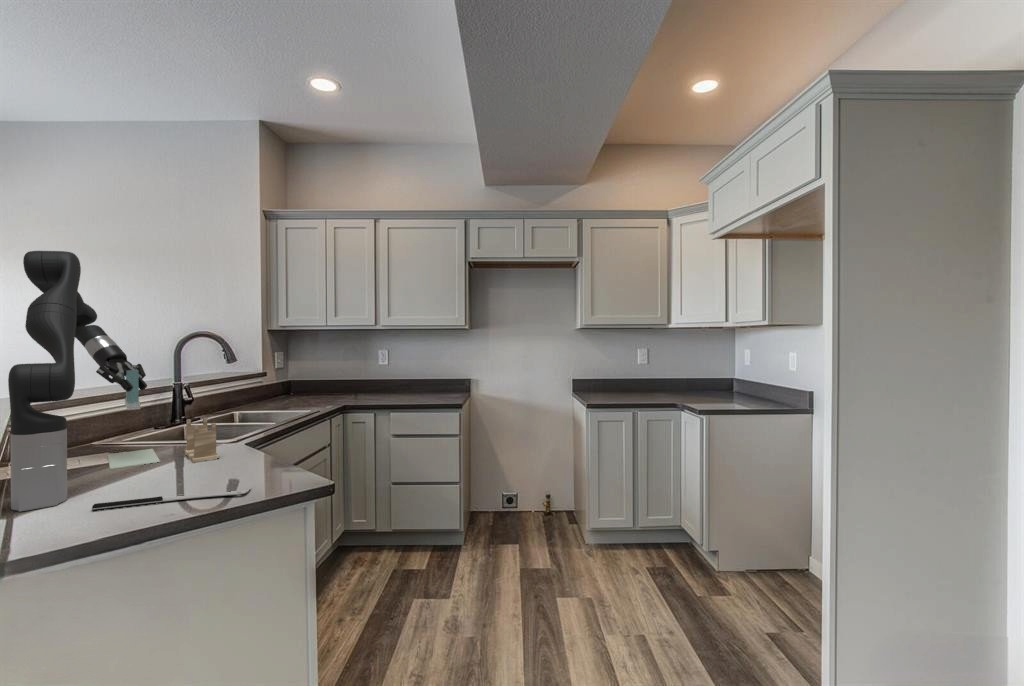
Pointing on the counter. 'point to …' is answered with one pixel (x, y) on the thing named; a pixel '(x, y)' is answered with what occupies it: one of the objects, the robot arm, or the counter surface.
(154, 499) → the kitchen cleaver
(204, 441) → the rack
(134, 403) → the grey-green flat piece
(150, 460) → the mat
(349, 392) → the counter surface
